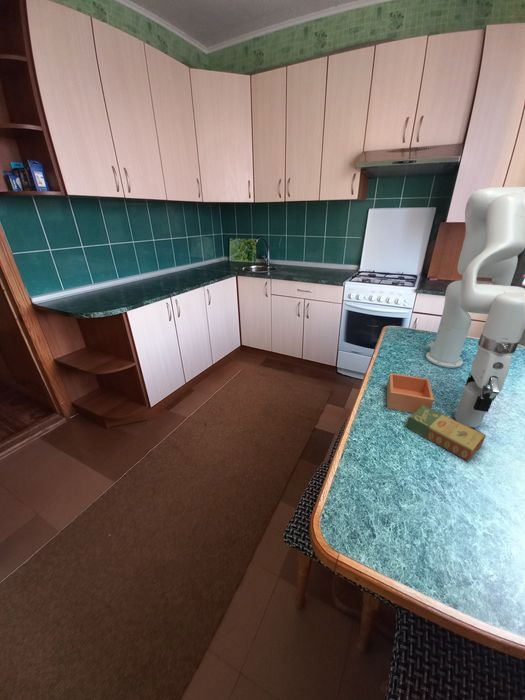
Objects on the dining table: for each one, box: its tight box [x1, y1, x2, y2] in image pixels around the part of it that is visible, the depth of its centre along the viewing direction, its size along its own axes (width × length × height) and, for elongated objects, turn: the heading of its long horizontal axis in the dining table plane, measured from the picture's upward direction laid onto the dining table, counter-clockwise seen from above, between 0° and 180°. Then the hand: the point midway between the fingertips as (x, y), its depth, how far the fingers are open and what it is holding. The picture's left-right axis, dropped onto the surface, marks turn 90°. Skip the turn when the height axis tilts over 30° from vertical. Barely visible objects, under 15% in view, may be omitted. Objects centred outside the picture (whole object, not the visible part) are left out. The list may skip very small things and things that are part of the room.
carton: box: [406, 405, 486, 462], centre depth 77 cm, size 8×16×4 cm, turn 37°
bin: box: [386, 372, 435, 414], centre depth 91 cm, size 12×12×6 cm
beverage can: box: [453, 382, 490, 429], centre depth 81 cm, size 6×6×12 cm
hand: (475, 399), depth 80 cm, fingers open, 9 cm apart
